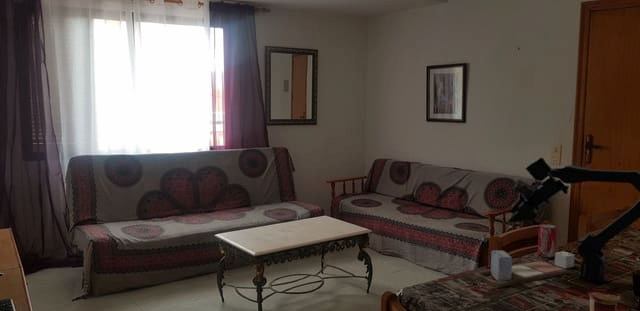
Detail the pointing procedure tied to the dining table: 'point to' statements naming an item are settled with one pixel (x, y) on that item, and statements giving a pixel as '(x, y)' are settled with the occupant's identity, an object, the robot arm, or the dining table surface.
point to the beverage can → (547, 240)
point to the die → (564, 259)
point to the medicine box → (501, 265)
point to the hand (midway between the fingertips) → (509, 216)
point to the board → (523, 273)
